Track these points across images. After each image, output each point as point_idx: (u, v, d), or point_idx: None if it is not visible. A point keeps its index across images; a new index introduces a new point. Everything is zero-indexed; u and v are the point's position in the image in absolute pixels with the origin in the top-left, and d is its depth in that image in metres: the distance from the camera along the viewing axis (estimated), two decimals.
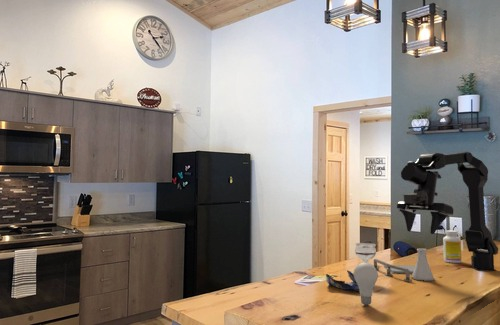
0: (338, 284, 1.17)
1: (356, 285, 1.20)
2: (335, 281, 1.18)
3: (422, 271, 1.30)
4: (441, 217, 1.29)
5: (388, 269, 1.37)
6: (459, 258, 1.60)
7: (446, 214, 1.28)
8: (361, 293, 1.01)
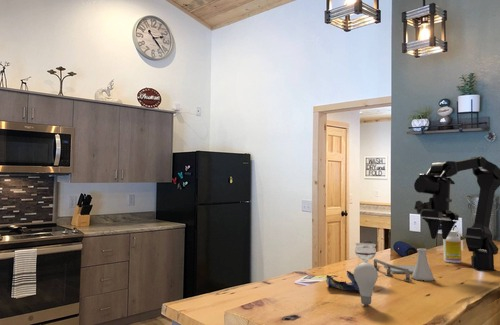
0: (339, 285, 1.16)
1: (355, 285, 1.20)
2: (336, 282, 1.16)
3: (422, 271, 1.30)
4: (435, 221, 1.36)
5: (388, 269, 1.37)
6: (459, 258, 1.60)
7: (433, 218, 1.35)
8: (361, 293, 1.01)
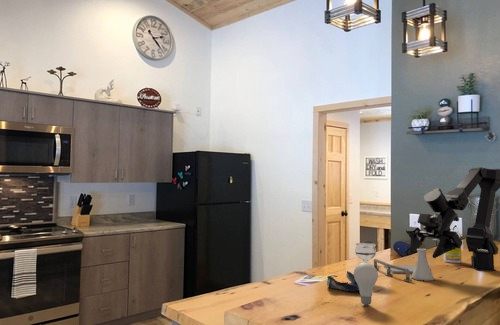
0: (341, 286, 1.15)
1: (355, 286, 1.19)
2: (338, 283, 1.15)
3: (422, 271, 1.30)
4: (448, 247, 1.30)
5: (388, 269, 1.37)
6: (459, 258, 1.60)
7: (454, 245, 1.28)
8: (361, 293, 1.01)
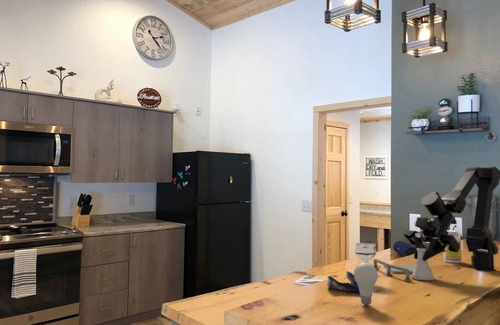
0: (342, 286, 1.14)
1: (355, 286, 1.19)
2: (339, 283, 1.14)
3: (422, 271, 1.30)
4: (437, 249, 1.31)
5: (388, 269, 1.37)
6: (459, 258, 1.60)
7: (443, 247, 1.30)
8: (361, 293, 1.01)
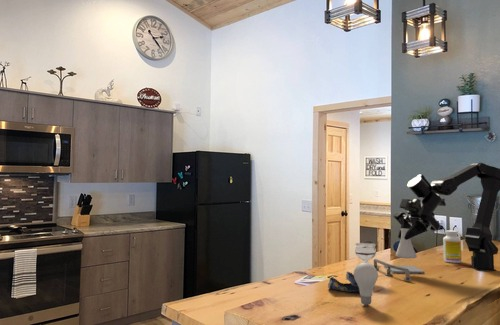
0: (344, 287, 1.14)
1: (355, 286, 1.19)
2: (341, 284, 1.14)
3: (404, 249, 1.37)
4: (420, 229, 1.38)
5: (388, 269, 1.37)
6: (459, 258, 1.60)
7: (425, 227, 1.36)
8: (361, 293, 1.01)
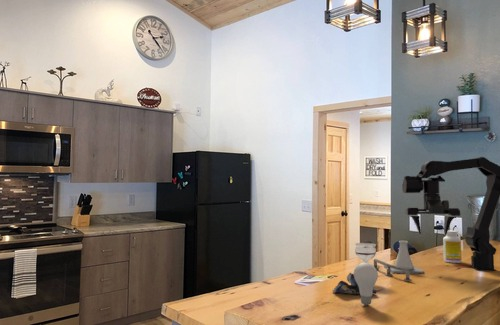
0: (352, 289, 1.11)
1: None
2: (350, 287, 1.11)
3: (401, 260, 1.44)
4: None
5: (388, 269, 1.37)
6: (459, 258, 1.60)
7: None
8: (361, 293, 1.01)
